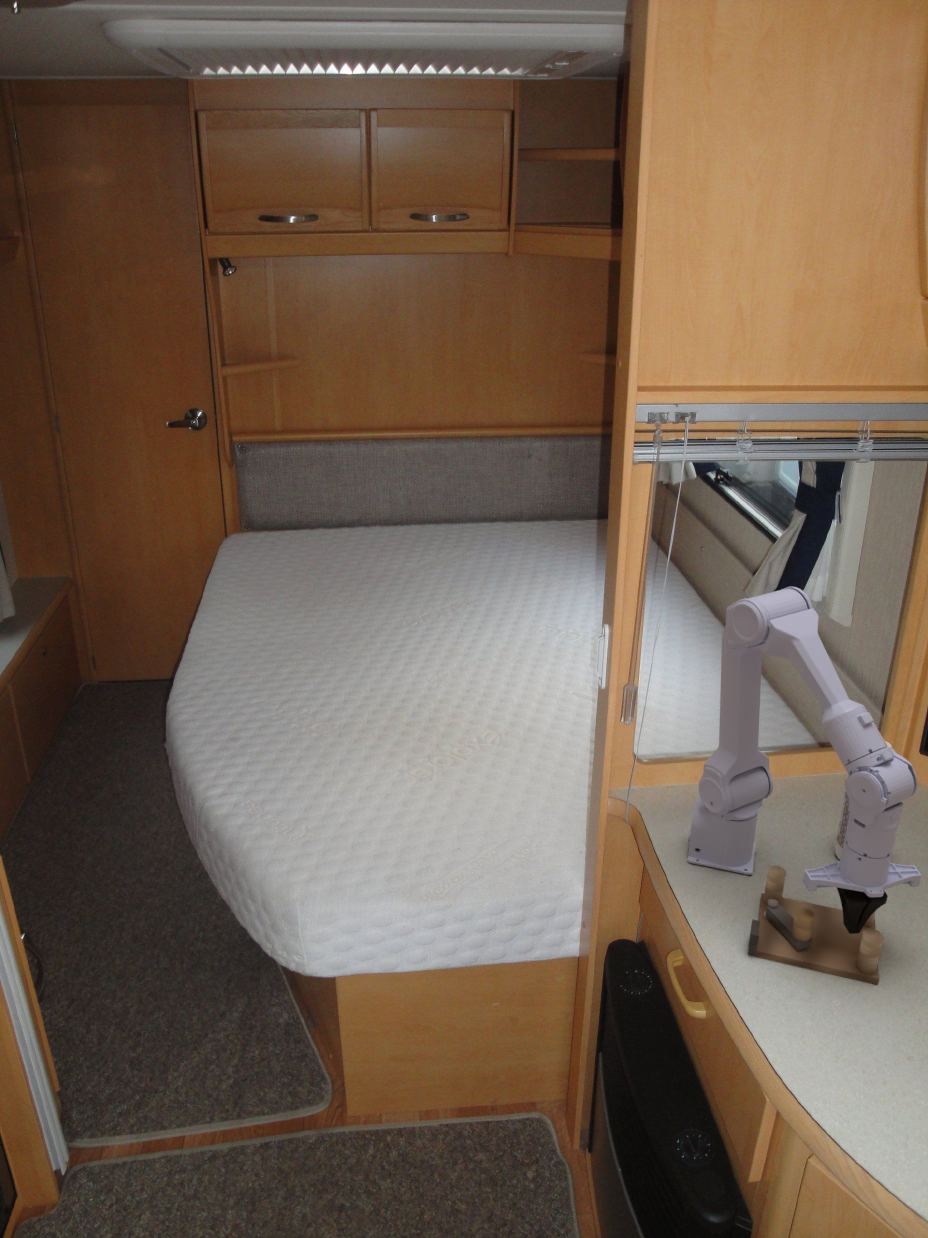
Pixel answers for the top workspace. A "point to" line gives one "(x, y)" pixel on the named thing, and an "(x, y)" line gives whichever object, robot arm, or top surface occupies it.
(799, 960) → the stool board
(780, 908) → the grey bar with knob
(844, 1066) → the top surface
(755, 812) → the robot arm
